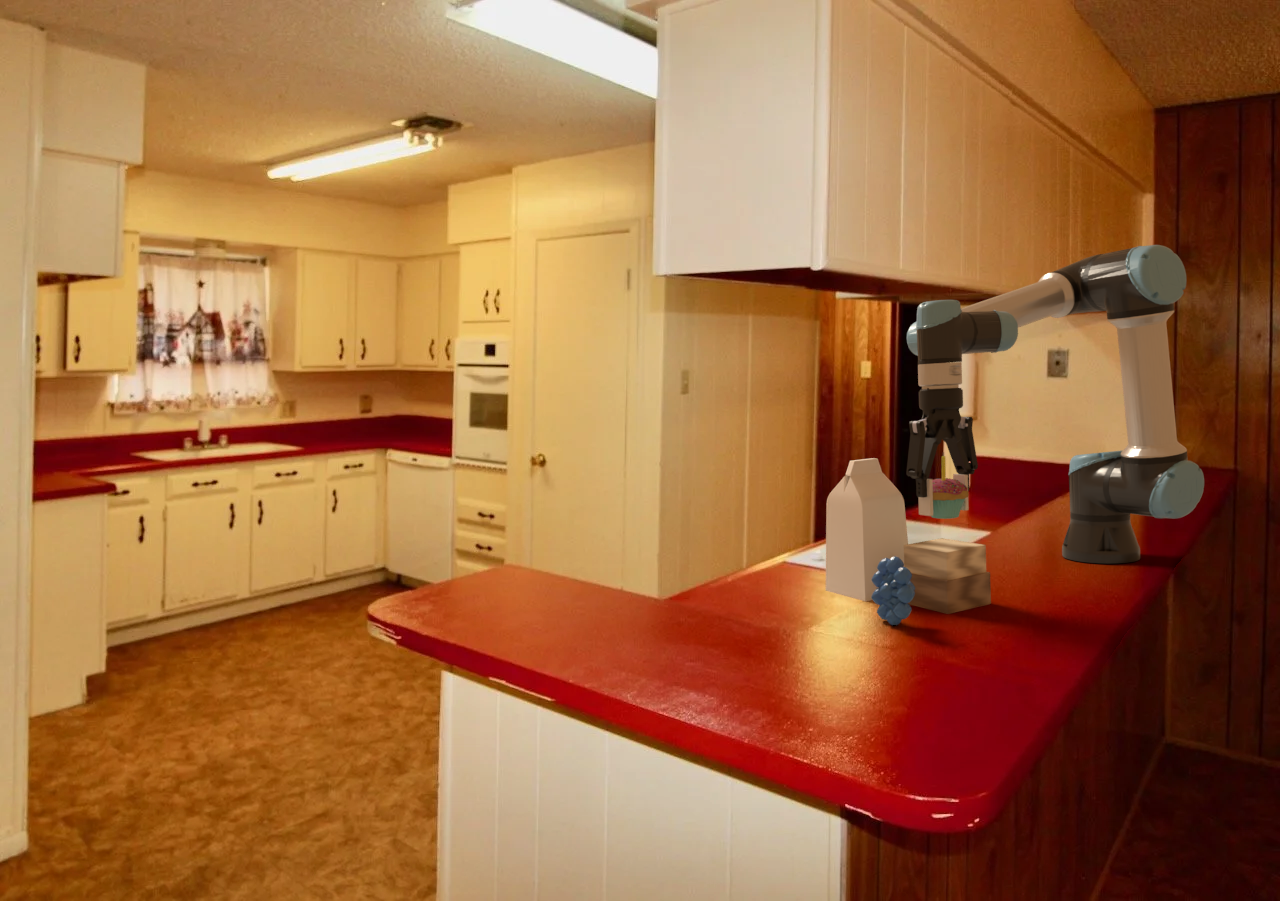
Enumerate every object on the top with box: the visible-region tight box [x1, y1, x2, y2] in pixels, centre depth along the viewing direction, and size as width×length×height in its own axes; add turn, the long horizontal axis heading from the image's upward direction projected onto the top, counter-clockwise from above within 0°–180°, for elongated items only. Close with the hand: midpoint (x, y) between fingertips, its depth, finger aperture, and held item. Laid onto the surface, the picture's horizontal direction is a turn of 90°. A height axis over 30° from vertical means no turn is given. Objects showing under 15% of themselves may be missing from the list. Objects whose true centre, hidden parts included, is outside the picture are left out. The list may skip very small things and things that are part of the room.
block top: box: [904, 537, 987, 581], centre depth 162 cm, size 10×10×5 cm
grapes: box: [871, 556, 915, 626], centre depth 149 cm, size 12×7×12 cm, turn 14°
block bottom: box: [908, 571, 992, 615], centre depth 162 cm, size 11×11×6 cm
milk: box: [825, 457, 909, 602], centre depth 173 cm, size 12×12×26 cm
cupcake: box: [930, 451, 970, 520], centre depth 161 cm, size 9×8×12 cm
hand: (943, 512), depth 161 cm, fingers closed on cupcake, 8 cm apart
